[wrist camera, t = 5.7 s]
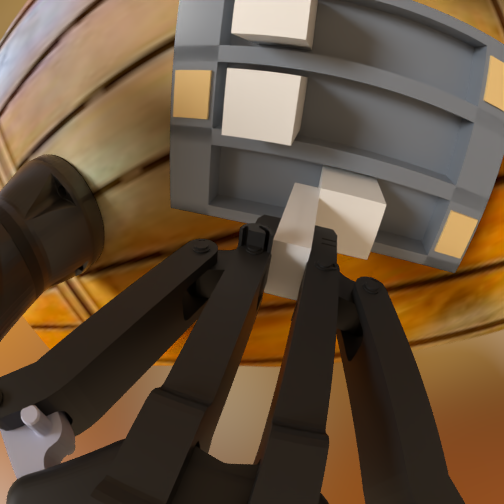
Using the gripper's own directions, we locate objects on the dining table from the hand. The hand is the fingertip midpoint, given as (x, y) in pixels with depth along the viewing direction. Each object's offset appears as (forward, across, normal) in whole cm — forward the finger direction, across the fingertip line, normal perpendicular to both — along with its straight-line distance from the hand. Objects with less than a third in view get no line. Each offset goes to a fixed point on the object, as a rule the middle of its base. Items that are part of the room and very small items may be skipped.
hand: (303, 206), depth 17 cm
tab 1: (+4, -3, +11) cm, 12 cm away
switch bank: (+5, +2, +6) cm, 8 cm away
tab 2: (+4, -3, +6) cm, 7 cm away
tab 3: (+4, +2, 0) cm, 4 cm away
